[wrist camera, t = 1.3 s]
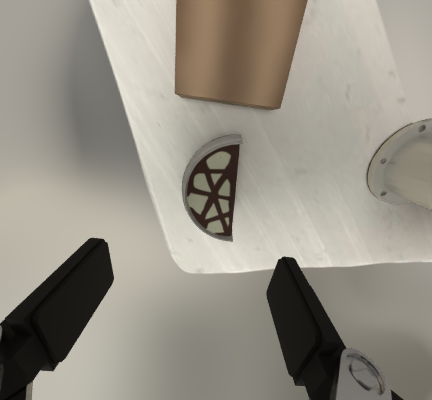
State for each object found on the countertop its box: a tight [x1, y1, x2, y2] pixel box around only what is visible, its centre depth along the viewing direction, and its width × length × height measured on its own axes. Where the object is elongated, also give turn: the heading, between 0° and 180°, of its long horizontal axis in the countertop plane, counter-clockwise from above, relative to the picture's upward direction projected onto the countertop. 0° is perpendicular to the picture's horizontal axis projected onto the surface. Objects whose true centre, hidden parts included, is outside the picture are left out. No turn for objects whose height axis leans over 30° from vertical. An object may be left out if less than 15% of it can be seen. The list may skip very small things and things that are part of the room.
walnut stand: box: [175, 0, 307, 110], centre depth 18 cm, size 12×13×4 cm
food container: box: [182, 135, 242, 242], centre depth 22 cm, size 12×6×10 cm, turn 178°
